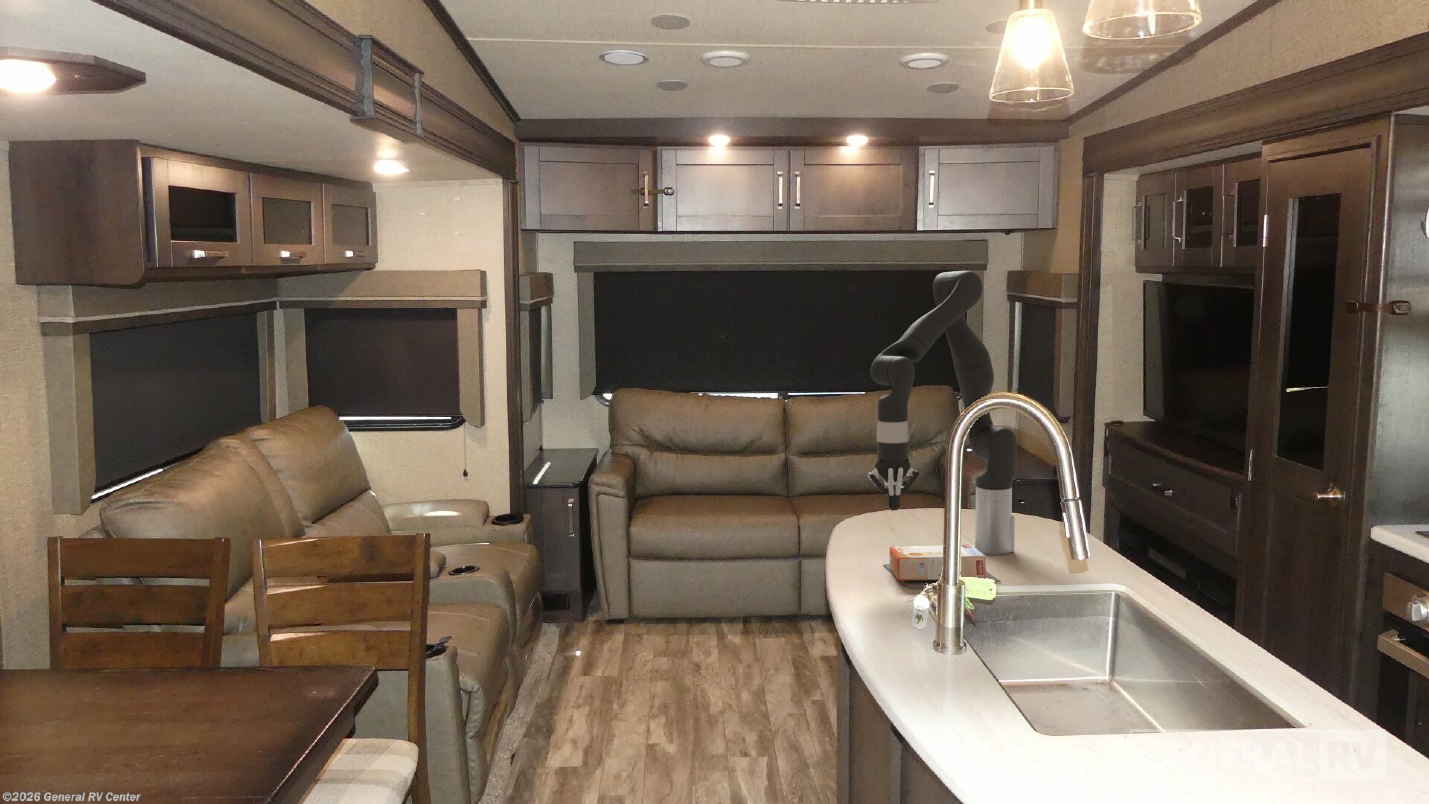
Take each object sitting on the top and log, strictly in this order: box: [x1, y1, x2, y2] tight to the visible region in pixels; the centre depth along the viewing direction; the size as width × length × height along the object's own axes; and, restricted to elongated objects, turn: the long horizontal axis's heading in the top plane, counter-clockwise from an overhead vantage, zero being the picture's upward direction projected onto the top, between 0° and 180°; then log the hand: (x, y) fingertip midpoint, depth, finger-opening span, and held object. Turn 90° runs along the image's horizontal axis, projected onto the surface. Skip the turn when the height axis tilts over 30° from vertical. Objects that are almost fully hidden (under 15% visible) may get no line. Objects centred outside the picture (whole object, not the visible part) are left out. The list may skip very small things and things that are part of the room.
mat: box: [882, 563, 1002, 590], centre depth 261 cm, size 22×20×1 cm
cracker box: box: [889, 544, 987, 581], centre depth 258 cm, size 14×6×21 cm
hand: (893, 509), depth 257 cm, fingers closed
